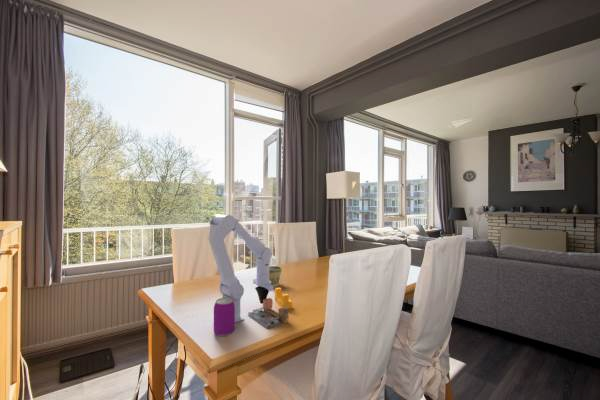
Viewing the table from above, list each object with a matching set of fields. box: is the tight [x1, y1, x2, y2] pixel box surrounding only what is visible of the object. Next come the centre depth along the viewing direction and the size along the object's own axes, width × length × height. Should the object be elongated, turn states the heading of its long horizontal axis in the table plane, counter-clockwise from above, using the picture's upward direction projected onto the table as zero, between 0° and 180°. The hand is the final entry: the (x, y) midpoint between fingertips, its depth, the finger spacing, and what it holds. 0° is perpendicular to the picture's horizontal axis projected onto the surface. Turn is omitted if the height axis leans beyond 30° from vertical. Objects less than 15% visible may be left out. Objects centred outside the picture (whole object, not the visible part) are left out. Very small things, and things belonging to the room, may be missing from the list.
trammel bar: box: [263, 307, 290, 324], centre depth 121 cm, size 9×15×6 cm, turn 38°
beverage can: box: [213, 297, 236, 337], centre depth 109 cm, size 8×8×12 cm
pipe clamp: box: [274, 287, 293, 310], centre depth 138 cm, size 12×4×6 cm, turn 23°
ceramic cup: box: [269, 265, 282, 288], centre depth 169 cm, size 13×10×10 cm
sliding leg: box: [251, 297, 273, 312], centre depth 126 cm, size 9×2×4 cm, turn 128°
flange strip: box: [247, 309, 282, 330], centre depth 120 cm, size 6×16×2 cm, turn 38°
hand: (262, 302), depth 131 cm, fingers closed
